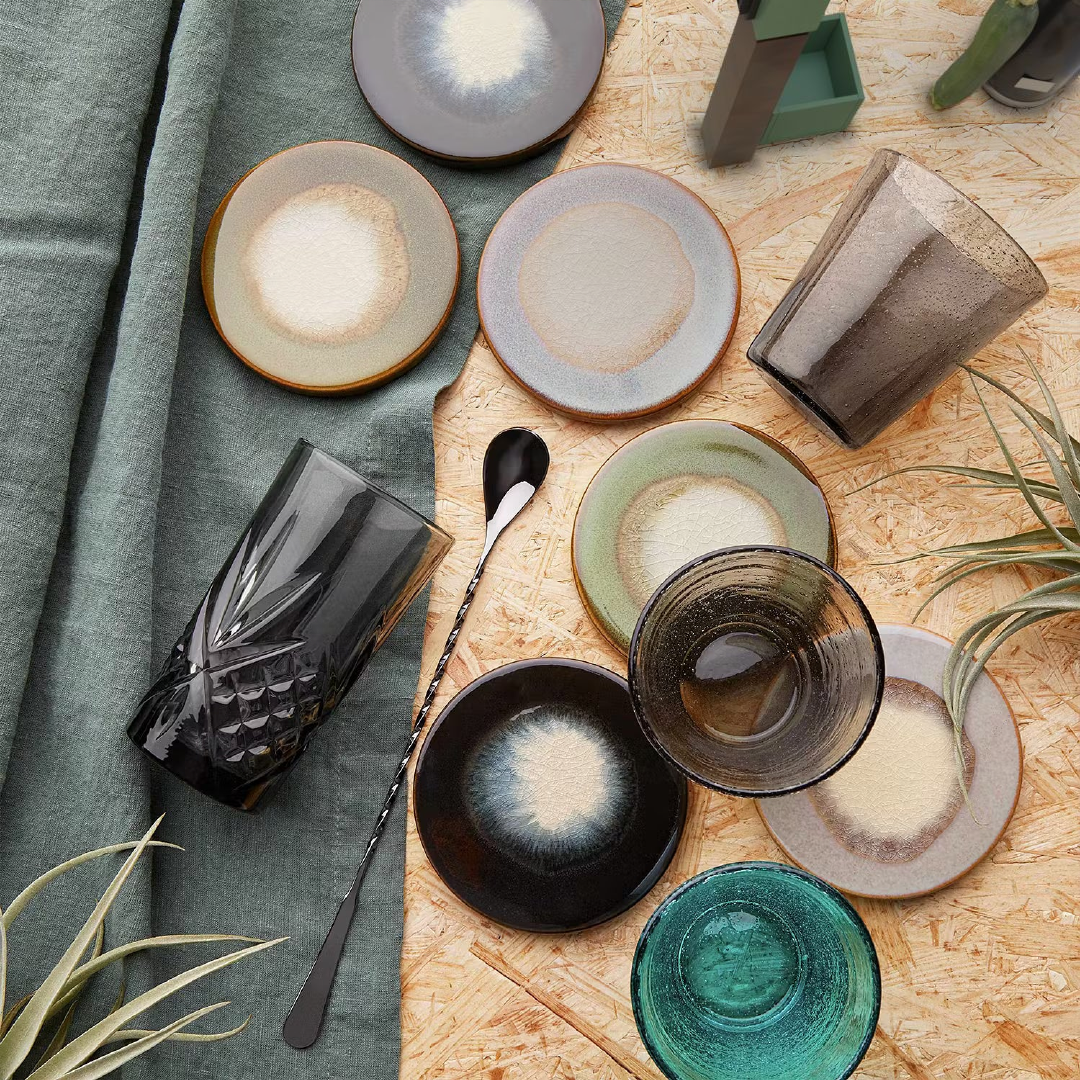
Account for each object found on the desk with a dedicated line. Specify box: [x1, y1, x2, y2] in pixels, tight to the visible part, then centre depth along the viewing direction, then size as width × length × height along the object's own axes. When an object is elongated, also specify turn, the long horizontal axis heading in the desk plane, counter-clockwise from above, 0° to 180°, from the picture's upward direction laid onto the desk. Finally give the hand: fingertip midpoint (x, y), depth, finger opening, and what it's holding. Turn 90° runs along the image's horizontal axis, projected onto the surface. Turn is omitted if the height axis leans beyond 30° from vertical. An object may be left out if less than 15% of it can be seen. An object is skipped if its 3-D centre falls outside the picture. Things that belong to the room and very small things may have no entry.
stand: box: [699, 12, 809, 170], centre depth 85 cm, size 4×4×20 cm
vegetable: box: [929, 0, 1039, 110], centre depth 86 cm, size 4×4×20 cm
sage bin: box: [758, 11, 866, 146], centre depth 93 cm, size 9×9×6 cm
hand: (781, 3), depth 74 cm, fingers closed on sage block, 5 cm apart
